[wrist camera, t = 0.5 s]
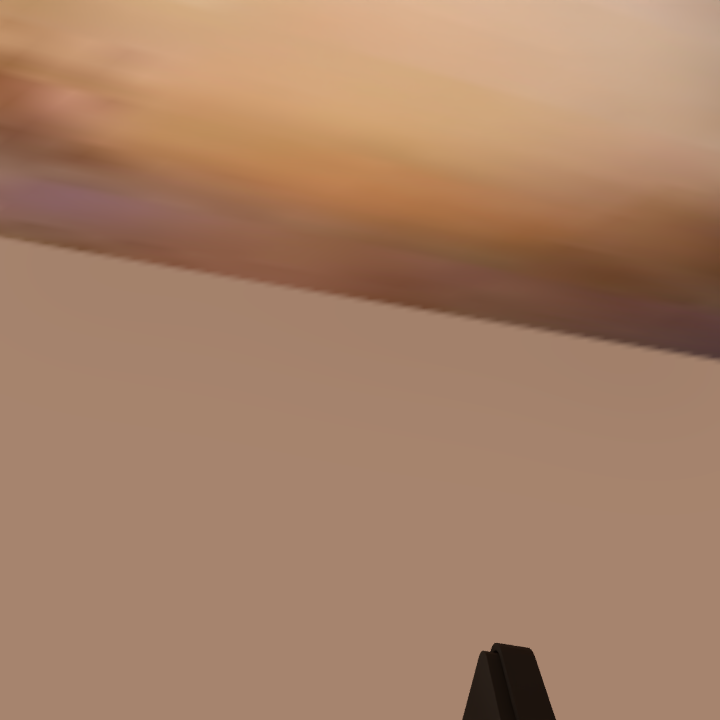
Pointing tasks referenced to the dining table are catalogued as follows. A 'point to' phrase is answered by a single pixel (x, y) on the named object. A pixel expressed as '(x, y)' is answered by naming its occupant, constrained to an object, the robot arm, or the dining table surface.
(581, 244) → the dining table surface
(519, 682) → the robot arm
